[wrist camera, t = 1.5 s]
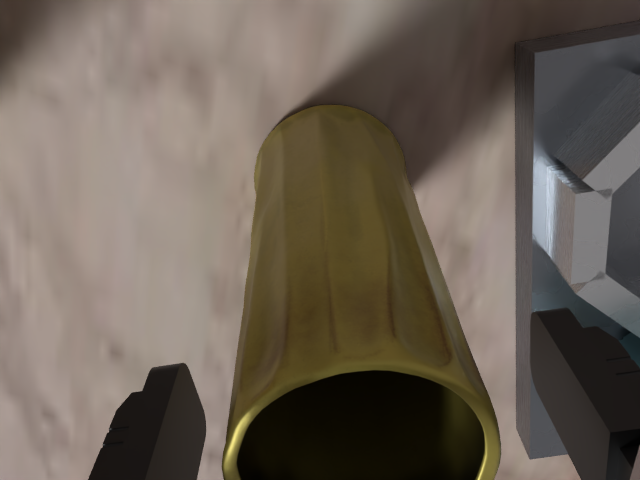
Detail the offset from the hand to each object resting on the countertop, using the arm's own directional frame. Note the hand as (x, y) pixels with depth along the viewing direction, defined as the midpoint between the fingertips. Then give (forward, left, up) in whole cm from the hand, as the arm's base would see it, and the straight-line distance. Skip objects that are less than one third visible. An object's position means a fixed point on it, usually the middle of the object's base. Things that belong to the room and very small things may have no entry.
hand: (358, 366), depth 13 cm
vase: (0, 0, -12) cm, 12 cm away
